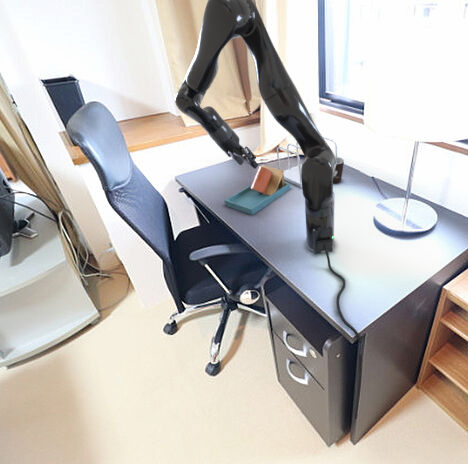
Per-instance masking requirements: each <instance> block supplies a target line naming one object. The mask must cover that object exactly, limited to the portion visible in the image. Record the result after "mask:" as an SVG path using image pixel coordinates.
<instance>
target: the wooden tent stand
mask: <svg viewBox="0 0 468 464" xmlns="http://www.w3.org/2000/svg"><path fill="white" fill-rule="evenodd" d="M260 167H264V168H266V169H268V170H270V171H272V172H273V174H272V176H271V179H270V181H269V184H268V186H267V189H266V191H265V194H266V195H269V196H270V195H272V194H273V193H275V192H276V191H277V188H280V189H281V188H282V187H284V186H285V184H284V182H285V180H284V171H285V170H284V169H281V168H280V169H279V168H276V167H271V166H268V165H264V164H261V165H260ZM252 191H253V190H252Z"/></svg>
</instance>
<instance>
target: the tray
mask: <svg viewBox="0 0 468 464" xmlns="http://www.w3.org/2000/svg"><path fill="white" fill-rule="evenodd" d="M284 184H285V186H284V187H282V188H281V189H280V188H277V191H276V192H275V193H273V194H272V195H270V196H269V195H266V194H264V195H263V194H260V193H257V192H255V191H252V190H251V189H250V187H251V185H252V183H251V184H250V185H248V186H246V187H245V188H243V189H242V190H240V191H238V192H236V193H234V194H233V195H231V196H230V197H227V198H226V199H224V205H225V207H228V208H231V209H234V210H236V211H238V212H239V211H240V212H242V213H244V214H248V215H251V216H253V215H255V214H256V213H258V212H259V211H260V210H262V209H263V208H264V207H266V206H269V204H271V203H272V202H273V201H275V200H277V199H278V198H280V197H281V196H282V195H284V194H285V193H287V192H288V191H290V190H291V183H290V182H289V183H288V182H285V181H284Z"/></svg>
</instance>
